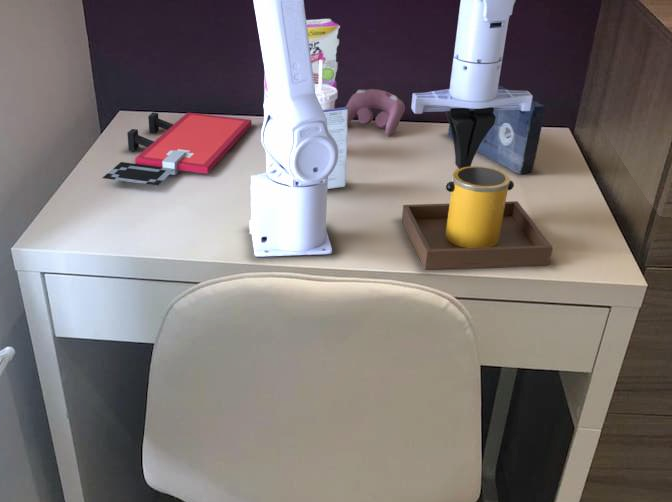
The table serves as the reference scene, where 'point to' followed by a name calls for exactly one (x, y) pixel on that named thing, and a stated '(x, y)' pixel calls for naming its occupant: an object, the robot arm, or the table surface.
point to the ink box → (339, 132)
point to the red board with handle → (180, 147)
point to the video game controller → (378, 100)
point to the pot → (476, 206)
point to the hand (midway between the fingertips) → (462, 166)
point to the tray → (511, 250)
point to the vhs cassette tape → (513, 137)
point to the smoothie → (325, 91)
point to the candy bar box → (321, 51)
